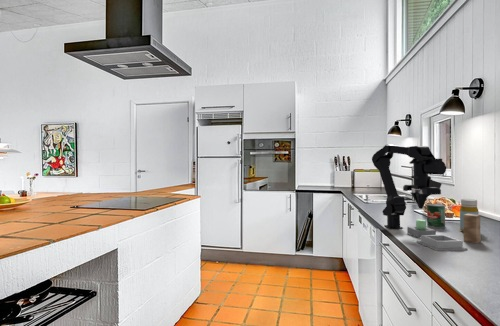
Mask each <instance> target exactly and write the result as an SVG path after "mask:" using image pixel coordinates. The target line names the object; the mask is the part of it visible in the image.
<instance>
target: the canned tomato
mask: <svg viewBox="0 0 500 326" xmlns="http://www.w3.org/2000/svg"><path fill="white" fill-rule="evenodd" d="M426 218H427V219H426V227H427V226H428V227H429V228H435V229H436V228H438V229H442V228H443V229H444V228H446V205H445V204H441V203H427V204H426Z"/></svg>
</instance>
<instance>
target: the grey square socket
mask: <svg viewBox="0 0 500 326" xmlns="http://www.w3.org/2000/svg"><path fill="white" fill-rule="evenodd" d="M417 242H418V244H420V245H423V246H425V247H426V248H429V249H432V250H434V251H436V252H441V251H442V252H444V251H468V248H467V247H465V246H463V245H464V244H463V242H464V240H461V239H457V238H455V237H452V236H449V235H447V234H436V235H421V238H420V240H416V243H417Z"/></svg>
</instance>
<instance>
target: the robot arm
mask: <svg viewBox="0 0 500 326" xmlns="http://www.w3.org/2000/svg"><path fill="white" fill-rule="evenodd" d="M394 154H398V155H399V154H400V155H404V156H408V157H409V158H411V161H410V162H409V165H411V164H413V168H412V169H413V175H411V176H410V177H411V178H410V179H413V184H404V185H403V186H402V191H404V192H408V191H409V192H410V194H411V196H412V197H413V199H414V201H415V203H416V205H417V206H418V208H419V209H424V206H425V203H426V201H427V199H428V197H430V196H431V195H441V194H442V190H441V187H442V182H439V181H436V180H433V179H432V177H431V175H439V176H442V175H444V174H445V173H446V171H447V166H446V164H445V162H444V161H443V158H436V157H435V155H434V154H433V153H432V151H431V149H430V147H429V146H427V145H415V146H405V145H395V144H385V145H384V146H383V147H382V148H381V149H379V150H377V151H376V152H375V153H374V154H373V155H372V157H371V162H372V164H373V166H374V167H375V168H376V169H377V171H378V172H379V174H380V177H381V181H382V184H383V186H384V187H383V188H384V190H385V193H386V197H387V198H386V201H385V204H386V206H385V207H384V208H383V210H382V215H383V216H385V217H386V224H385V225H384V227H386V228H387V229H390V230H392V229H393V230H394V229H395V230H396V229H404V227H403V226H401V216H404V215H405V211H406V209H407V203H406V201H405V200H406V199H405V197H404V196H400V195H399V193H398V191H397V188H396V186H395V185H396V184H395V182H394V179H393V175H392V173H391V170H390V166H391V160H392V159H393V157H394ZM429 175H430V176H429Z"/></svg>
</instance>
